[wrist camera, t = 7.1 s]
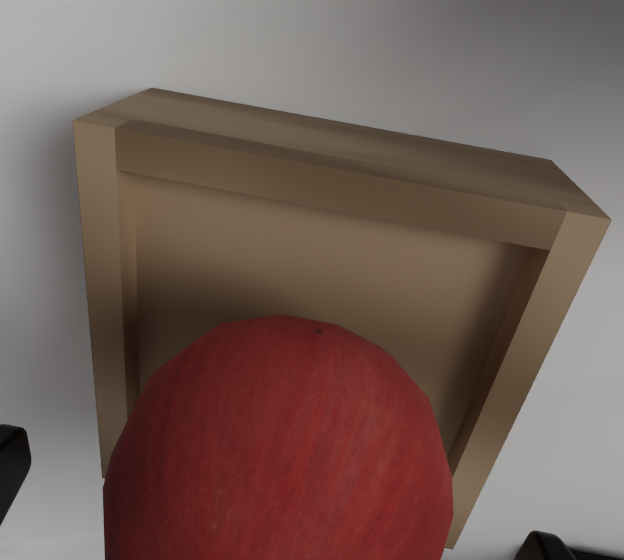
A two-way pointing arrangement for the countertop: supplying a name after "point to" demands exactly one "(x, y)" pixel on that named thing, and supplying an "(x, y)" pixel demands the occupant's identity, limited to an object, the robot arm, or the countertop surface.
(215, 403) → the onion
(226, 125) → the wooden tray
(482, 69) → the countertop surface
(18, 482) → the robot arm
